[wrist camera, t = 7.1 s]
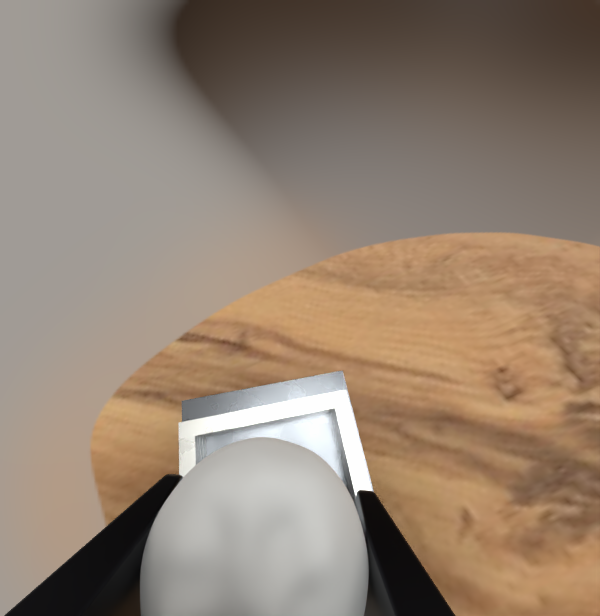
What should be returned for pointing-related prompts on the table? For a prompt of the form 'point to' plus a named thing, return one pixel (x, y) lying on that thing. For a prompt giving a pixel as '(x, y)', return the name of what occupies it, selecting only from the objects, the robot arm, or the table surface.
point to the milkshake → (256, 538)
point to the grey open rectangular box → (280, 424)
